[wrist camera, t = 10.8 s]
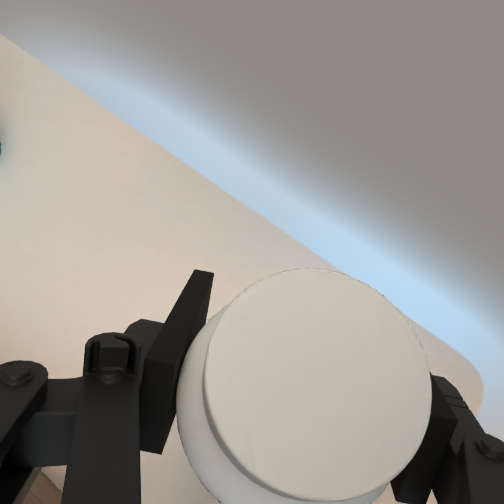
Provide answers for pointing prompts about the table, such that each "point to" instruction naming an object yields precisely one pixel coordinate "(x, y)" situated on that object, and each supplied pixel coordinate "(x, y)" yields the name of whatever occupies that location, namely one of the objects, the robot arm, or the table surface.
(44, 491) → the compartment box
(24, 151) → the table surface
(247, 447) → the pill bottle
